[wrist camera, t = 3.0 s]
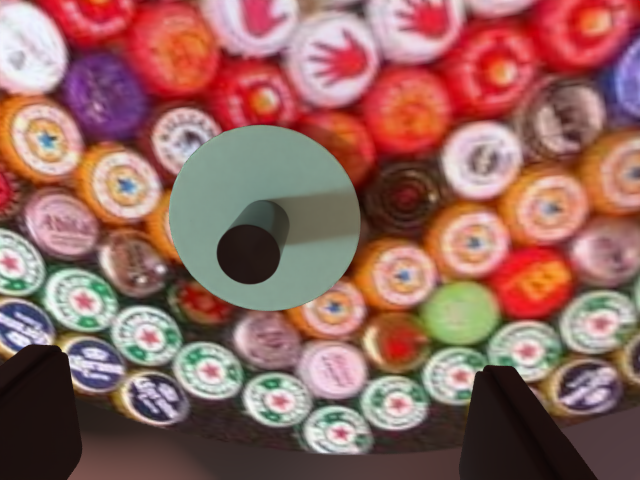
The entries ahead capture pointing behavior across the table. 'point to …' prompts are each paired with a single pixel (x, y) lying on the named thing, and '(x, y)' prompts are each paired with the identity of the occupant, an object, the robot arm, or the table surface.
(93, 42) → the table surface
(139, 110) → the table surface
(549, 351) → the table surface
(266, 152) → the lid
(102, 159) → the table surface
